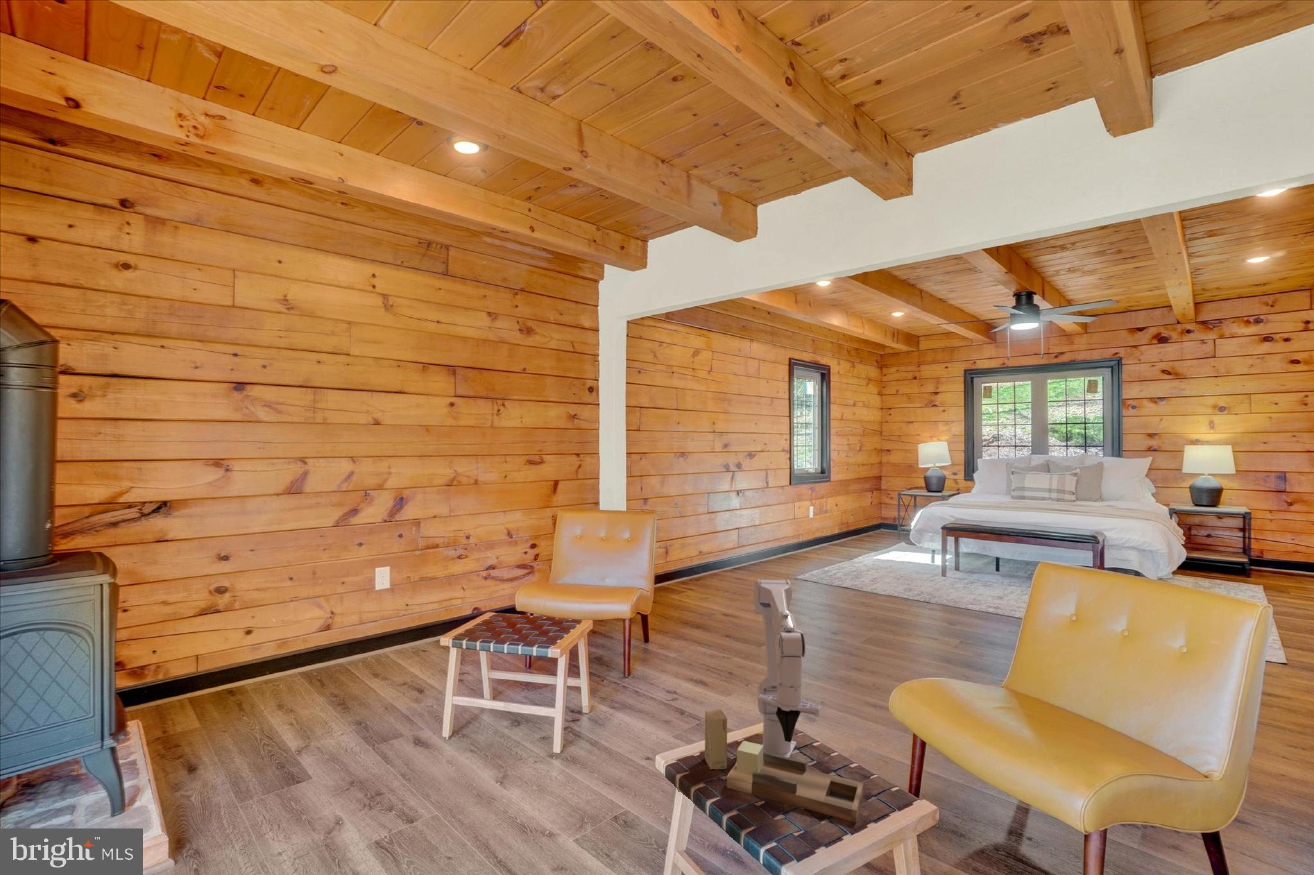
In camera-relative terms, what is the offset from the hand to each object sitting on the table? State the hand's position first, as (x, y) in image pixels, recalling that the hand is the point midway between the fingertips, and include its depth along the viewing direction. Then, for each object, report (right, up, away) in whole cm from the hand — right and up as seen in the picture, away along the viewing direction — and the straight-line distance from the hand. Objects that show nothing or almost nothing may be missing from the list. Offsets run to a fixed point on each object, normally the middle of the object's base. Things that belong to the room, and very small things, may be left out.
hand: (788, 739), depth 146 cm
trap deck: (0, -9, -5) cm, 11 cm away
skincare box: (-17, -9, +7) cm, 20 cm away
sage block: (-9, -7, 0) cm, 11 cm away
